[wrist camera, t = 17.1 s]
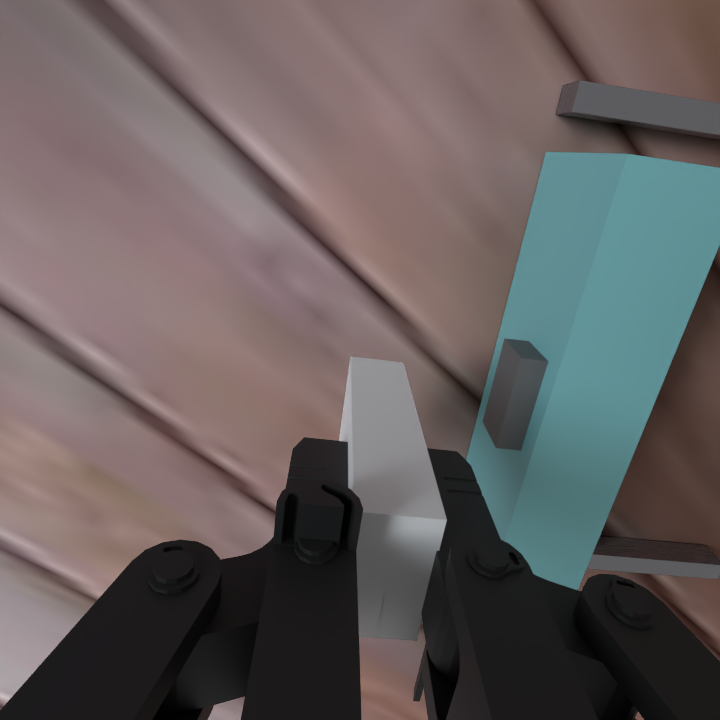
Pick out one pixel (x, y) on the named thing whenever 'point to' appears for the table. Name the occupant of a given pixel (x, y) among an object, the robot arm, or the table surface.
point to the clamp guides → (666, 117)
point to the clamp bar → (588, 344)
